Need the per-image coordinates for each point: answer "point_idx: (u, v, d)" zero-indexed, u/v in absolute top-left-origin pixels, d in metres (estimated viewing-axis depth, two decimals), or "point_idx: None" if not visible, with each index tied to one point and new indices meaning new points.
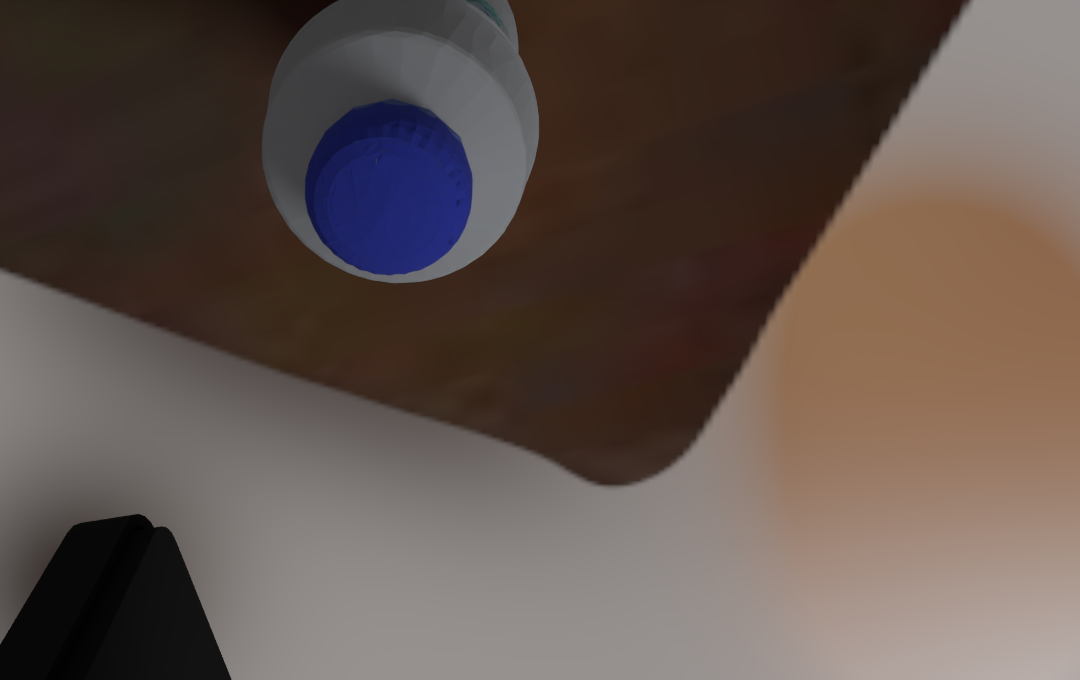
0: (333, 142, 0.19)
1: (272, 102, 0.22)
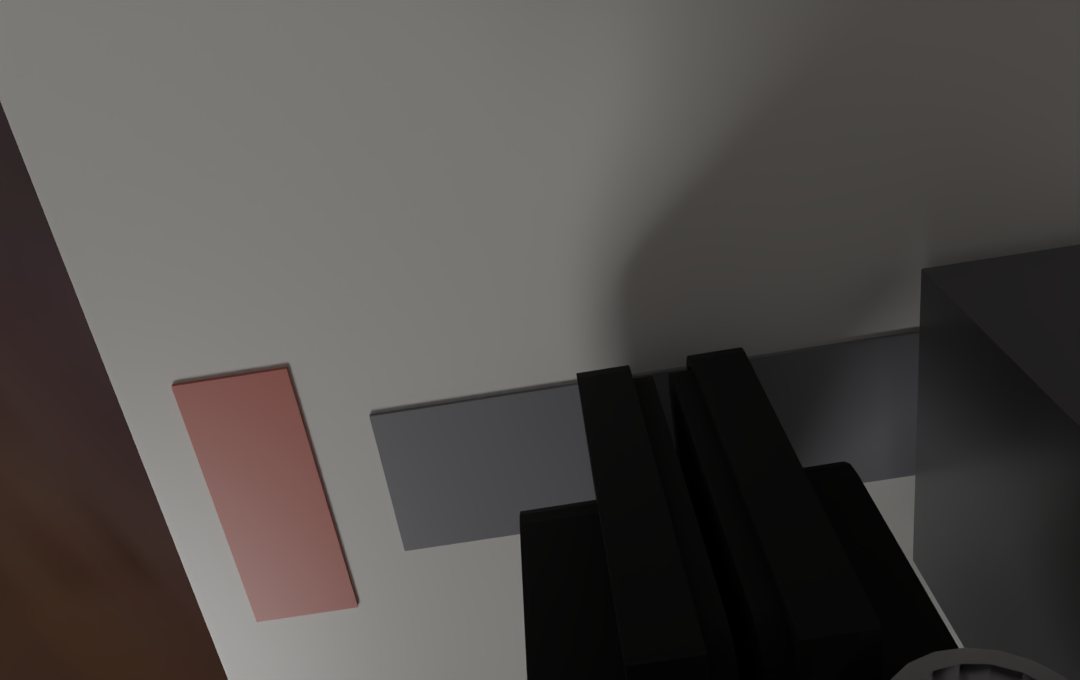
0: None
1: None
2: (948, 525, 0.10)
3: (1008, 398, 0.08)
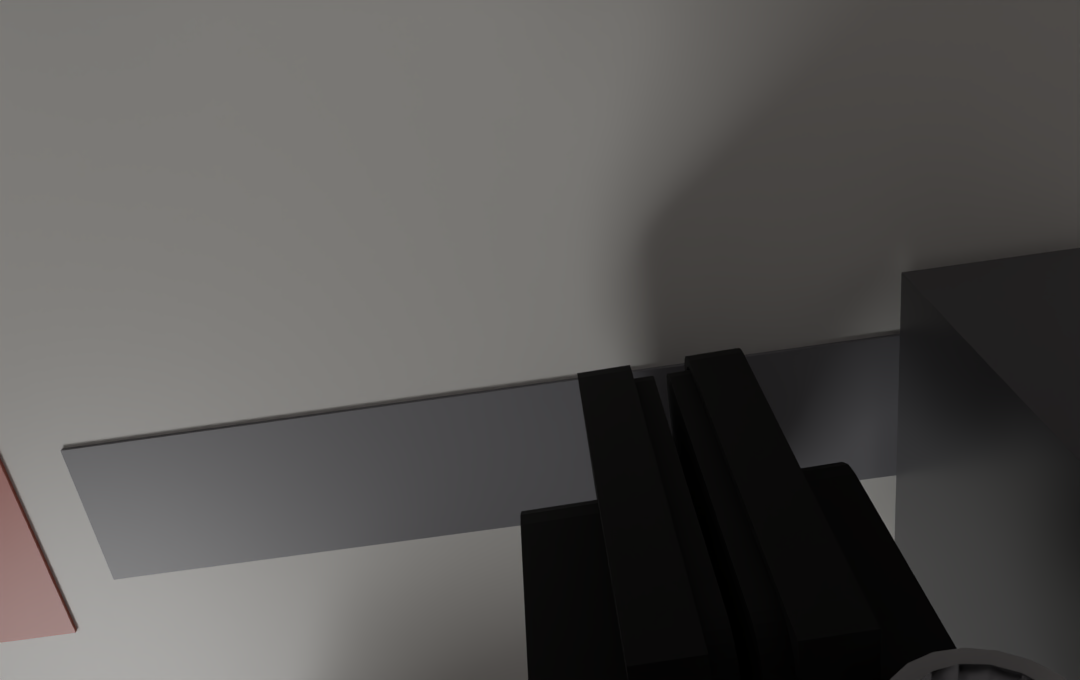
0: None
1: None
2: (927, 522, 0.10)
3: (979, 396, 0.08)
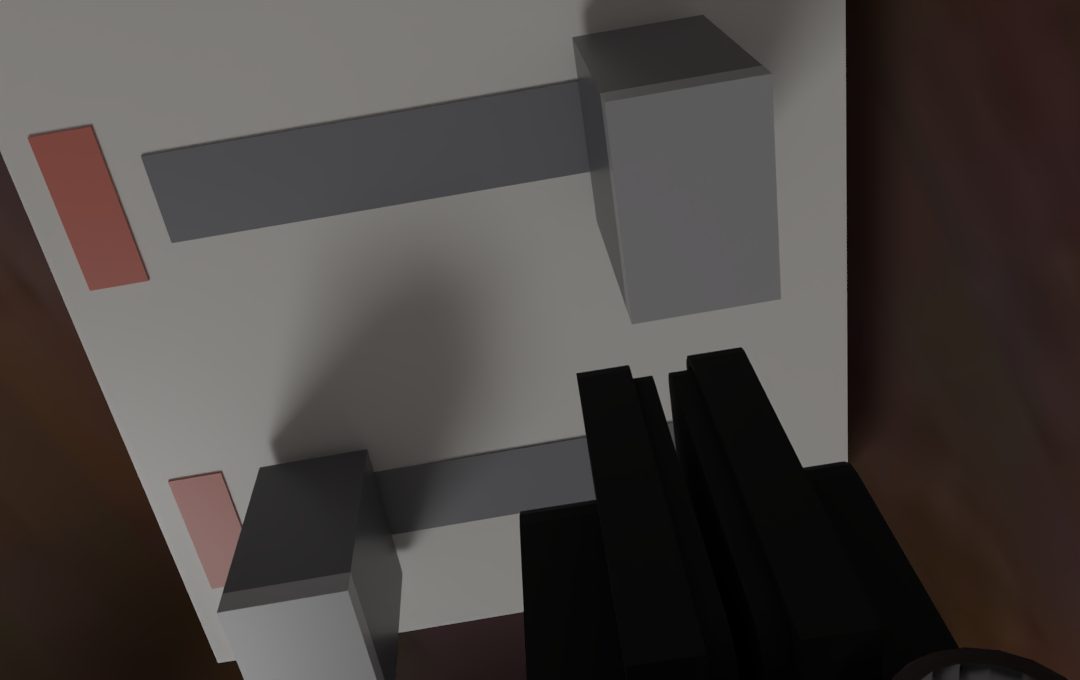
0: None
1: None
2: (594, 179, 0.19)
3: (586, 82, 0.17)
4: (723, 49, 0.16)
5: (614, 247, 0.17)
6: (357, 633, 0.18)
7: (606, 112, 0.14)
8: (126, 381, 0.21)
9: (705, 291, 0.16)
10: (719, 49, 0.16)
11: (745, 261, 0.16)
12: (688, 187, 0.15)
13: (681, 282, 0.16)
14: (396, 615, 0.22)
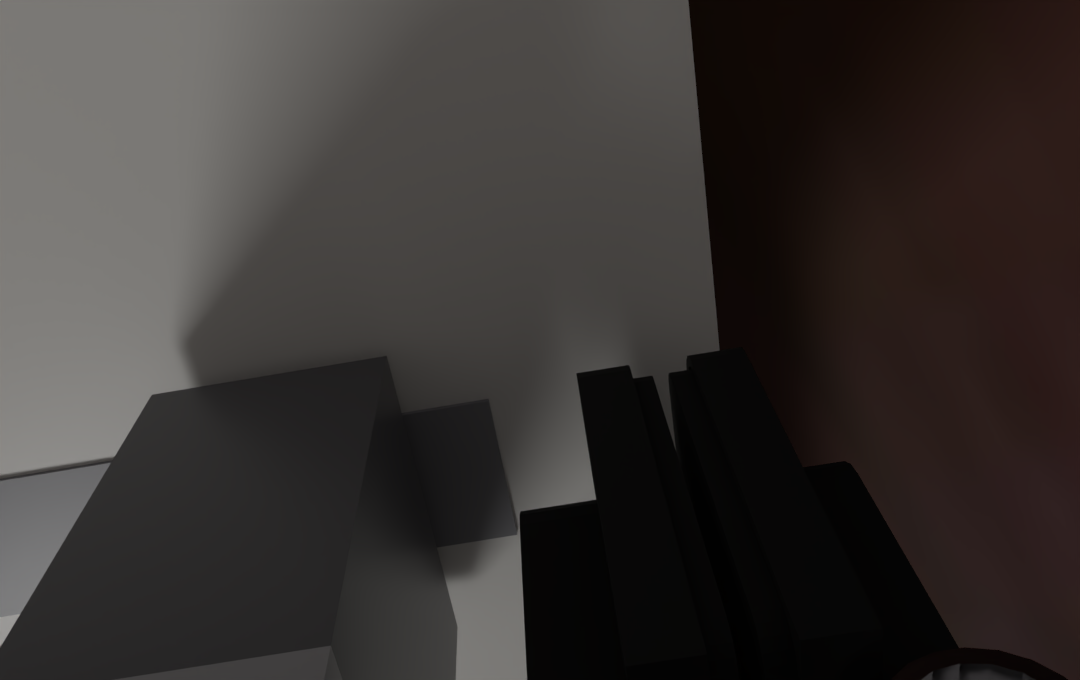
0: None
1: None
2: None
3: None
4: (322, 524, 0.08)
5: None
6: None
7: None
8: None
9: None
10: (314, 524, 0.08)
11: None
12: None
13: None
14: None
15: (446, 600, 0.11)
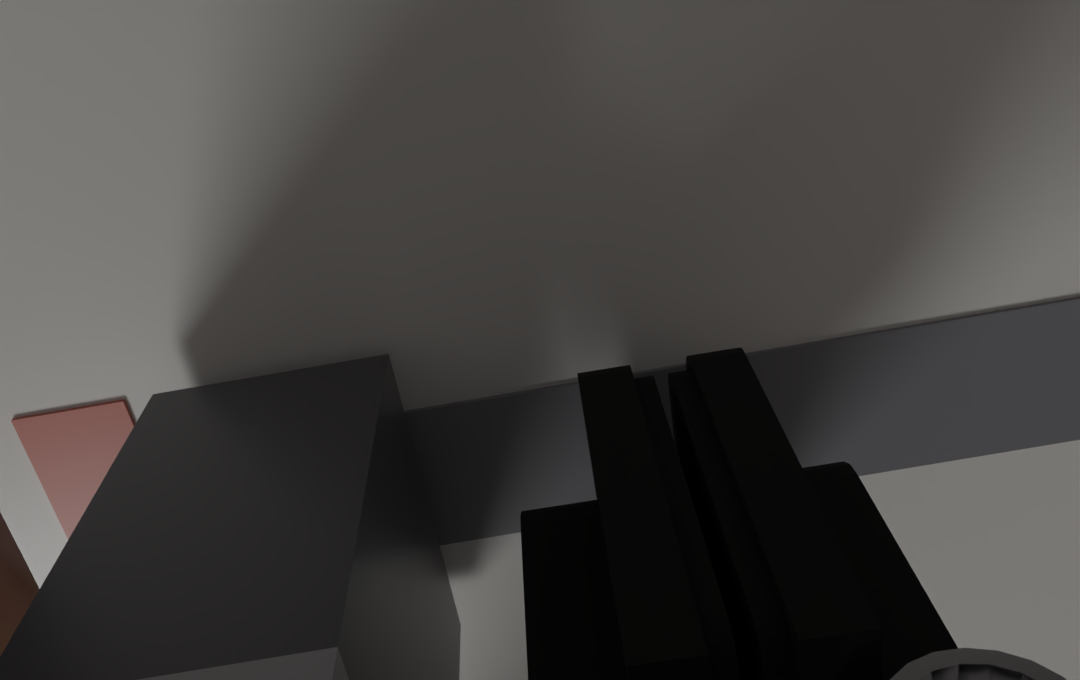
0: None
1: None
2: None
3: None
4: (327, 525, 0.08)
5: None
6: None
7: None
8: None
9: None
10: (318, 525, 0.08)
11: None
12: None
13: None
14: None
15: (449, 598, 0.11)
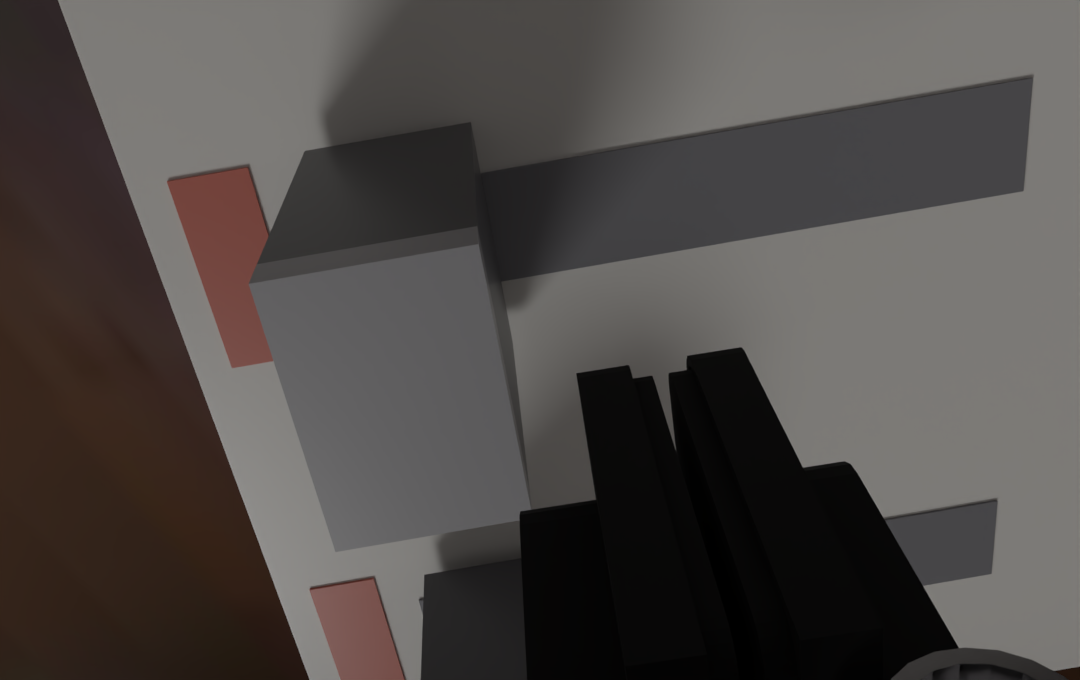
0: None
1: None
2: None
3: None
4: (453, 189, 0.12)
5: None
6: None
7: (254, 296, 0.10)
8: (268, 474, 0.17)
9: (429, 511, 0.12)
10: (448, 189, 0.12)
11: (478, 475, 0.12)
12: (385, 388, 0.11)
13: (394, 501, 0.12)
14: None
15: None
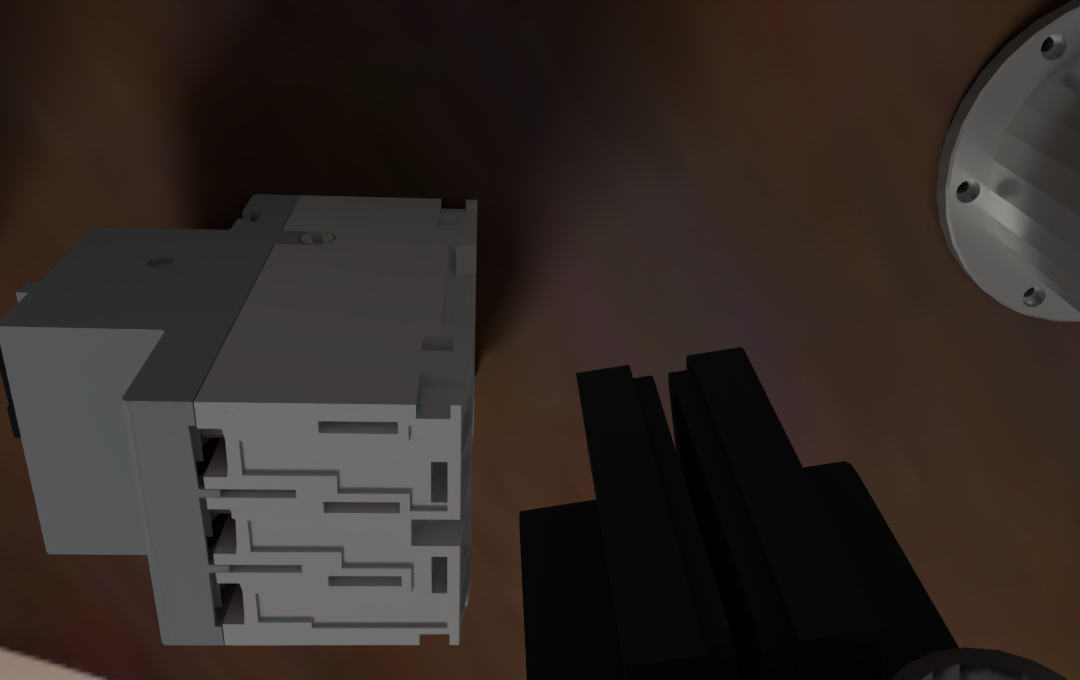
0: None
1: None
2: None
3: None
4: None
5: None
6: None
7: None
8: None
9: None
10: None
11: None
12: None
13: None
14: None
15: None
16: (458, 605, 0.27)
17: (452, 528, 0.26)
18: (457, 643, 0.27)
